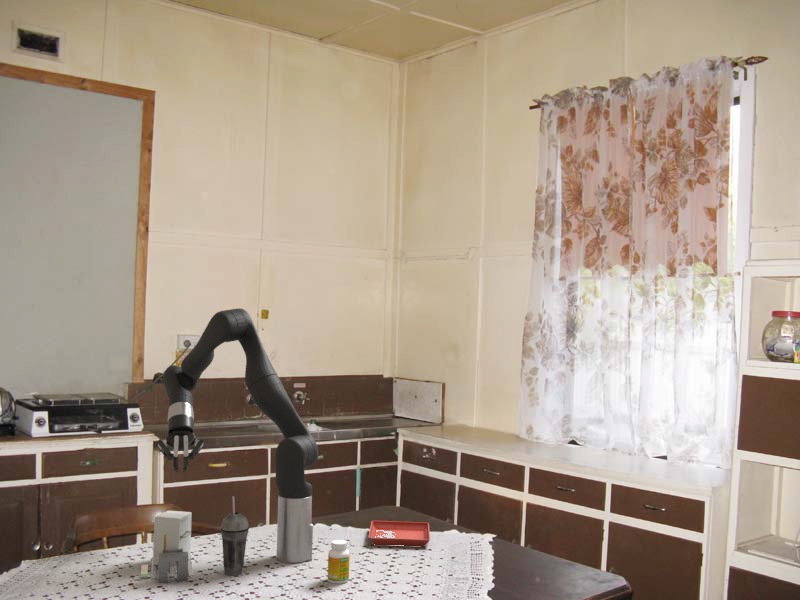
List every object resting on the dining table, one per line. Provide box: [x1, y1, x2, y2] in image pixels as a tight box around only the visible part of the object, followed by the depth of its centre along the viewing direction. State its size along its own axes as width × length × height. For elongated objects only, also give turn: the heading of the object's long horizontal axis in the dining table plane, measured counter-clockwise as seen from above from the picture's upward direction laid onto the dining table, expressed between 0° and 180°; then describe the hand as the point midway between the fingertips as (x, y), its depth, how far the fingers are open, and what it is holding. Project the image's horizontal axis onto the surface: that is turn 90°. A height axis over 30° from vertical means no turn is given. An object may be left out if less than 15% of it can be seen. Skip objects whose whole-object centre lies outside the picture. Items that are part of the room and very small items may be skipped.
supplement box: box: [152, 510, 193, 566], centre depth 205 cm, size 7×7×13 cm
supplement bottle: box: [327, 539, 351, 585], centre depth 195 cm, size 5×5×10 cm
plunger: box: [163, 534, 183, 574], centre depth 195 cm, size 5×10×8 cm, turn 18°
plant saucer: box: [368, 520, 431, 548], centre depth 232 cm, size 18×18×3 cm
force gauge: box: [140, 552, 194, 584], centre depth 199 cm, size 13×20×6 cm, turn 17°
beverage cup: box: [220, 495, 250, 577], centre depth 198 cm, size 7×7×20 cm
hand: (180, 470), depth 218 cm, fingers closed
